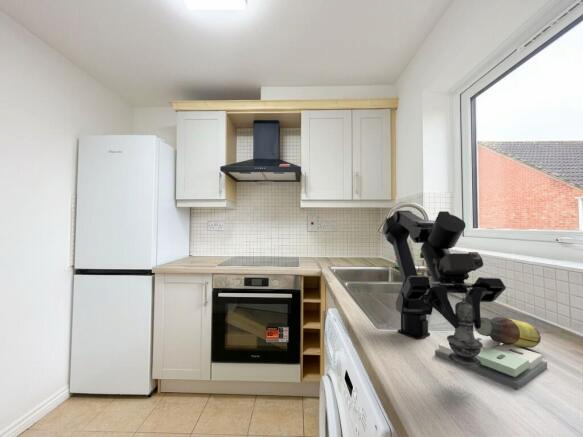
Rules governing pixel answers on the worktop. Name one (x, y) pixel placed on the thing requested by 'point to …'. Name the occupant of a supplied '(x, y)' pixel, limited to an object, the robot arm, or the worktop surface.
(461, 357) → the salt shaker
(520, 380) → the keypad board
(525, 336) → the sauce bottle
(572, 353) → the worktop surface
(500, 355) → the green key
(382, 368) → the worktop surface
